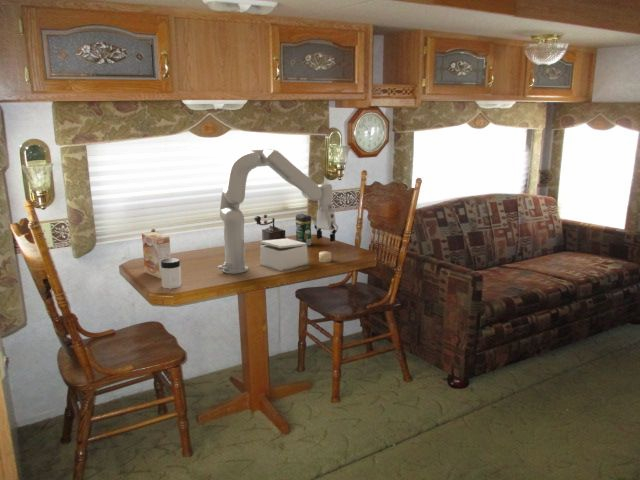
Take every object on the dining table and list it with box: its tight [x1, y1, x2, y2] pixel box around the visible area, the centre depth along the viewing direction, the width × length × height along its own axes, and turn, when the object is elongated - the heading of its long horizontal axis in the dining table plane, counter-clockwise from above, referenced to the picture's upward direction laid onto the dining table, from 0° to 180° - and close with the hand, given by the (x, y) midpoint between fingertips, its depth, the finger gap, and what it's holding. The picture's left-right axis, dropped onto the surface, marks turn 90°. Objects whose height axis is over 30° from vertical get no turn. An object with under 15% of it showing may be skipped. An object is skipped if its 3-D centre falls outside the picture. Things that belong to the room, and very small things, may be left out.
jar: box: [161, 257, 182, 290], centre depth 242 cm, size 9×8×12 cm
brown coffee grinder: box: [253, 215, 287, 246], centre depth 315 cm, size 16×11×18 cm
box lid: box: [259, 237, 308, 248], centre depth 275 cm, size 19×16×1 cm
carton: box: [259, 245, 308, 272], centre depth 276 cm, size 18×16×10 cm
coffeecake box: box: [141, 231, 172, 279], centre depth 260 cm, size 15×7×20 cm, turn 45°
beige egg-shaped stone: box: [318, 251, 332, 264], centre depth 284 cm, size 6×6×4 cm
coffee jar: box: [295, 213, 312, 247], centre depth 317 cm, size 10×8×19 cm
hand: (325, 239), depth 282 cm, fingers open, 9 cm apart
